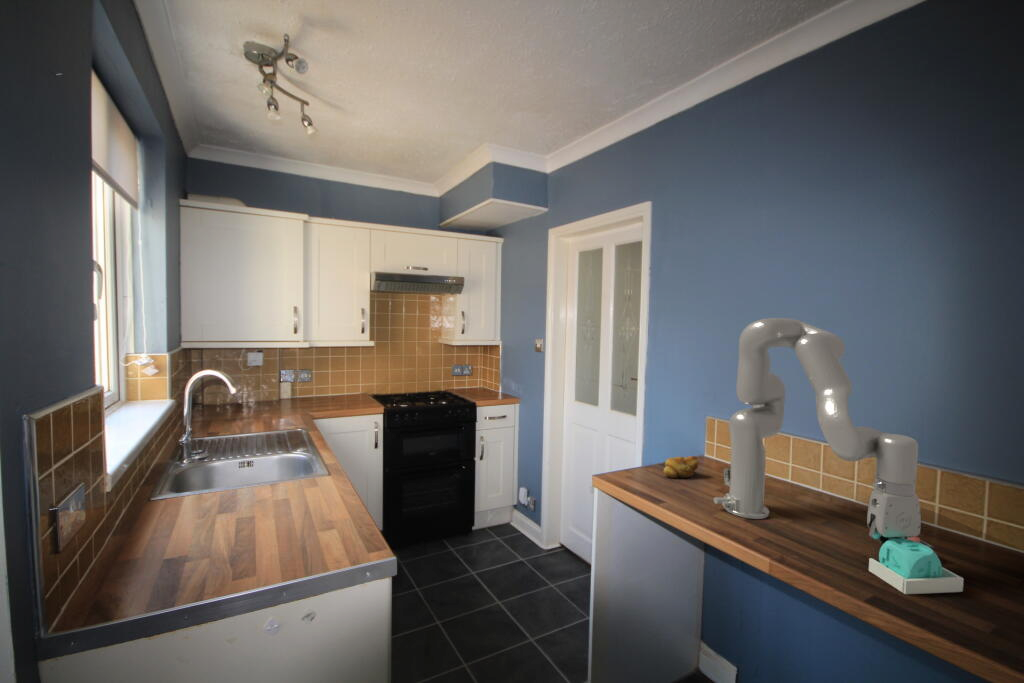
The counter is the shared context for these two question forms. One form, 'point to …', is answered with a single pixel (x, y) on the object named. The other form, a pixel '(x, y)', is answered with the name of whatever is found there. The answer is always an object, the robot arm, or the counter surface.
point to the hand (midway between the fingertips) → (889, 560)
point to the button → (915, 539)
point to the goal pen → (918, 580)
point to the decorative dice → (910, 559)
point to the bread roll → (680, 467)
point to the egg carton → (726, 476)
